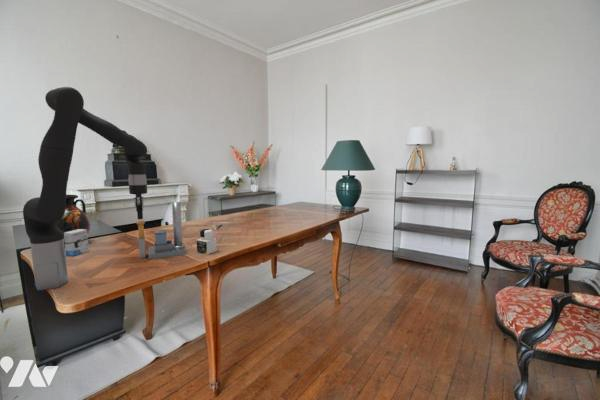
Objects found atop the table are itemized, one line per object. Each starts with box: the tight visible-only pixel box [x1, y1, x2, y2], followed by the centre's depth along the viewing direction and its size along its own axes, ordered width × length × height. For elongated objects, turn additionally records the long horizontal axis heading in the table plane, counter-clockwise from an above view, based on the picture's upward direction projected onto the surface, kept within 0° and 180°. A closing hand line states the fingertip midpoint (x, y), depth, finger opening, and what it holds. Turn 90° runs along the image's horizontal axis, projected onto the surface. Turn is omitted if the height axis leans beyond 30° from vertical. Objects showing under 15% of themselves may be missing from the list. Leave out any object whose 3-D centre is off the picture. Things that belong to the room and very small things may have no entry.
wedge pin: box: [136, 220, 146, 241], centre depth 137 cm, size 4×4×11 cm
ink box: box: [64, 229, 90, 257], centre depth 141 cm, size 8×5×12 cm, turn 168°
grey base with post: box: [138, 201, 187, 260], centre depth 141 cm, size 14×21×26 cm
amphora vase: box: [56, 194, 91, 246], centre depth 154 cm, size 22×22×28 cm
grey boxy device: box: [196, 228, 218, 256], centre depth 144 cm, size 7×7×12 cm
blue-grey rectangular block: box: [154, 229, 168, 245], centre depth 141 cm, size 5×5×9 cm
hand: (140, 219), depth 136 cm, fingers closed
